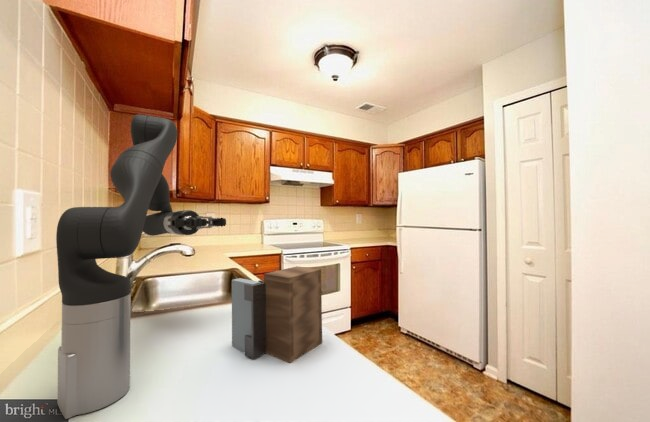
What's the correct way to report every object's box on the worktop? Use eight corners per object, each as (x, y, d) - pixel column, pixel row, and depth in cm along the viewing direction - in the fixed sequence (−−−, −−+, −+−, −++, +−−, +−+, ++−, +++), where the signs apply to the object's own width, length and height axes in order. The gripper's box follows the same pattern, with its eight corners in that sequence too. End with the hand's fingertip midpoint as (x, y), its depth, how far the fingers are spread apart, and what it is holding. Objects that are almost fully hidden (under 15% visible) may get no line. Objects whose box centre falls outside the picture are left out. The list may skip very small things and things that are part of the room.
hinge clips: (253, 360, 58) (253, 286, 59) (244, 355, 60) (244, 284, 61) (269, 351, 62) (268, 281, 63) (260, 347, 64) (260, 280, 64)
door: (253, 356, 60) (252, 284, 61) (232, 346, 65) (231, 279, 65) (261, 351, 62) (260, 282, 63) (240, 342, 67) (240, 278, 67)
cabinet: (289, 363, 57) (288, 277, 57) (264, 352, 62) (263, 273, 62) (322, 342, 66) (321, 269, 67) (298, 334, 71) (297, 266, 71)
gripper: (156, 210, 77) (184, 208, 68) (204, 210, 89) (233, 209, 79) (156, 236, 77) (184, 237, 68) (204, 233, 89) (233, 234, 79)
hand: (210, 222), depth 73 cm, fingers open, 8 cm apart
